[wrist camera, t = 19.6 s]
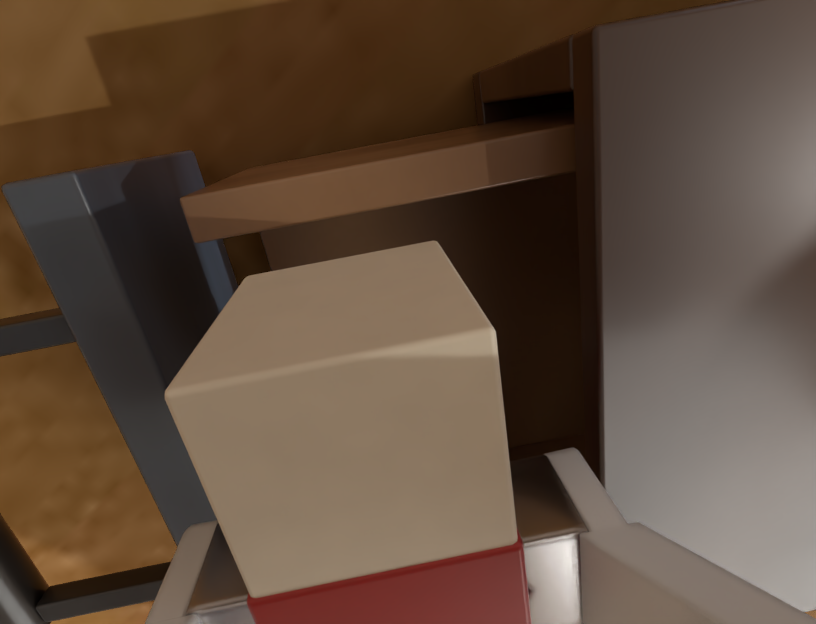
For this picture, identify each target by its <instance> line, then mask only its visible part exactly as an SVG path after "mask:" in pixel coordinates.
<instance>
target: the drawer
mask: <svg viewBox="0 0 816 624" xmlns="http://www.w3.org/2000/svg"><path fill="white" fill-rule="evenodd" d="M2 192H3V194H4V196H5V198H6V200H7V202H8V204H9V206H10V208H11V210H12V212H13V214H14V216H15V218H16V220H17V223H18V225H19V227H20V229H21V231H22V233H23V235H24V237H25V239H26V241H27V243H28V245H29V247H30V249H31V251H32V253H33V255H34V257H35V259H36V261H37V263H38V265H39V267H40V269H41V271H42V273H43V275H44V277H45V279H46V281H47V283H48V285H49V287H50V289H51V291H52V293H53V296H54V298H55V300H56V302H57V304H58V306H59V308H56V309H51V310H46V311H41V312H35V313H30V314H25V315H20V316H15V317H9V318H4V319H0V357H1V356H6V355H11V354H16V353H21V352H26V351H32V350H37V349H42V348H47V347H52V346H57V345H63V344H68V343H73V342H77V344H78V346H79V348H80V350H81V352H82V354H83V356H84V358H85V360H86V362H87V364H88V367H89V369H90V371H91V373H92V375H93V377H94V379H95V381H96V383H97V385H98V387H99V389H100V391H101V393H102V395H103V397H104V399H105V401H106V403H107V405H108V407H109V409H110V411H111V413H112V415H113V417H114V419H115V421H116V423H117V425H118V427H119V429H120V431H121V433H122V435H123V438H124V440H125V442H126V444H127V446H128V448H129V450H130V452H131V454H132V456H133V458H134V460H135V462H136V464H137V466H138V468H139V470H140V472H141V474H142V476H143V478H144V480H145V482H146V484H147V486H148V488H149V490H150V492H151V494H152V496H153V498H154V500H155V502H156V504H157V506H158V509H159V511H160V513H161V515H162V517H163V519H164V521H165V523H166V525H167V527H168V529H169V531H170V533H171V535H172V537H173V539H174V541H175V543H176V545H177V547H178V545H179V542H180V540H181V538H182V535H183V533H184V532H185V531H186V530H187V529H188V528H189V527H190V526H191V525H193V524H199V523H205V522H210V521H216V520H217V518H216V516H215V514H214V511H213V509H212V507H211V504H210V502H209V500H208V497H207V495H206V493H205V491H204V488H203V486H202V484H201V481H200V479H199V477H198V474H197V472H196V470H195V468H194V465H193V463H192V461H191V458H190V456H189V454H188V451H187V449H186V447H185V445H184V442H183V440H182V438H181V435H180V433H179V431H178V428H177V426H176V424H175V422H174V419H173V417H172V415H171V412H170V410H169V408H168V405H167V403H166V401H165V390H166V389H167V387H168V386H169V385H170V383H171V382H172V380H173V379H174V377H175V376H176V375H177V373H178V372H179V370H180V369H181V368H182V366H183V365H184V363H185V362H186V361H187V359H188V358H189V356H190V355H191V353H192V352H193V351H194V349H195V348H196V346H197V345H198V344H199V342H200V341H201V339H202V338H203V336H204V335H205V334H206V332H207V331H208V329H209V328H210V327H211V325H212V324H213V322H214V321H215V319H216V318H217V317H218V315H219V314H220V312H221V311H222V310H223V308H224V307H225V305H226V304H227V302H228V301H229V300H230V298H231V297H232V295H233V294H234V293H235V291H236V290H237V288H238V285H237V282H236V279H235V276H234V272H233V269H232V266H231V263H230V260H229V257H228V254H227V251H226V248H225V245H224V242H223V239H224V238H229V237H235V236H240V235H245V234H250V233H256V232H260V235H261V239H262V242H263V246H264V249H265V252H266V256H267V259H268V262H269V266H270V269H271V271H276V270H281V269H286V268H292V267H297V266H302V265H307V264H313V263H318V262H323V261H328V260H334V259H339V258H344V257H349V256H355V255H360V254H365V253H370V252H376V251H381V250H386V249H391V248H397V247H402V246H407V245H412V244H418V243H423V242H428V241H433V240H434V241H437V242H438V243H439V245H440V246H441V248H442V249H443V251H444V252H445V254H446V255H447V257H448V258H449V260H450V262H451V263H452V265H453V266H454V268H455V269H456V271H457V272H458V274H459V275H460V277H461V278H462V280H463V282H464V283H465V285H466V286H467V288H468V289H469V291H470V292H471V294H472V295H473V297H474V298H475V300H476V301H477V303H478V305H479V306H480V308H481V309H482V311H483V312H484V314H485V315H486V317H487V318H488V320H489V321H490V323H491V325H492V326H493V328H494V329H495V331H496V337H497V347H498V356H499V366H500V375H501V384H502V394H503V403H504V413H505V422H506V432H507V441H508V451H509V460H510V461H514V460H519V459H524V458H528V457H533V456H538V455H544V454H545V453H549V452H554V451H558V450H563V449H567V448H572V447H574V448H575V449H577V450H579V452H580V453H581V455H582V456H583V458H584V459H585V461H586V456H585V425H584V395H583V364H582V333H581V303H580V272H579V241H578V211H577V180H576V149H575V119H574V107H573V108H567V109H562V110H557V111H551V112H546V113H541V114H535V115H530V116H525V117H519V118H514V119H509V120H503V121H498V122H493V123H487V124H482V125H477V126H471V127H466V128H461V129H455V130H450V131H445V132H439V133H434V134H428V135H423V136H418V137H412V138H407V139H402V140H396V141H391V142H386V143H380V144H375V145H370V146H364V147H359V148H354V149H348V150H343V151H338V152H332V153H327V154H322V155H316V156H311V157H306V158H300V159H295V160H289V161H284V162H279V163H273V164H268V165H263V166H257V167H252V168H248V169H246V170H244V171H241V172H239V173H237V174H234V175H232V176H230V177H227V178H225V179H223V180H220V181H218V182H216V183H213V184H211V185H209V186H206V187H205V184H204V181H203V178H202V175H201V172H200V169H199V166H198V163H197V160H196V157H195V154H194V152H193V151H191V150H188V151H182V152H176V153H171V154H165V155H159V156H153V157H148V158H142V159H136V160H131V161H125V162H119V163H114V164H108V165H102V166H96V167H91V168H85V169H79V170H74V171H68V172H63V173H57V174H52V175H46V176H41V177H36V178H30V179H25V180H20V181H14V182H9V183H6V184H4V185H3V186H2ZM170 563H171V562H166V563H162V564H157V565H152V566H147V567H142V568H137V569H132V570H127V571H122V572H117V573H113V574H108V575H103V576H98V577H93V578H88V579H83V580H78V581H73V582H68V583H63V584H59V585H54V586H50V587H49V586H48V584H47V583H46V581H45V580H44V578H43V577H42V575H41V574H40V572H39V571H38V569H37V568H36V566H35V565H34V563H33V562H32V560H31V559H30V557H29V556H28V554H27V553H26V551H25V550H24V548H23V547H22V545H21V544H20V542H19V541H18V539H17V538H16V536H15V535H14V533H13V532H12V530H11V529H10V527H9V526H8V524H7V523H6V521H5V520H4V518H3V517H2V515H1V514H0V624H50V623H51V622H52V621H56V620H61V619H66V618H70V617H75V616H80V615H85V614H90V613H95V612H100V611H104V610H109V609H114V608H119V607H124V606H129V605H134V604H139V603H143V602H148V601H153V600H155V598H156V596H157V594H158V591H159V589H160V587H161V584H162V582H163V580H164V577H165V575H166V573H167V570H168V568H169V566H170Z"/></svg>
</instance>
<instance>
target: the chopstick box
mask: <svg viewBox="0 0 816 624" xmlns="http://www.w3.org/2000/svg"><path fill="white" fill-rule="evenodd" d="M165 401H166V403H167V405H168V408H169V410H170V412H171V415H172V417H173V419H174V422H175V424H176V426H177V428H178V431H179V433H180V435H181V438H182V440H183V442H184V445H185V447H186V449H187V451H188V454H189V456H190V458H191V461H192V463H193V465H194V468H195V470H196V472H197V474H198V477H199V479H200V481H201V484H202V486H203V488H204V491H205V493H206V495H207V497H208V500H209V502H210V504H211V507H212V509H213V511H214V514H215V516H216V518H217V520H218V523H219V525H220V527H221V530H222V532H223V534H224V537H225V539H226V541H227V544H228V546H229V548H230V550H231V553H232V555H233V557H234V560H235V562H236V564H237V567H238V569H239V571H240V573H241V576H242V578H243V580H244V583H245V585H246V587H247V590H248V592H249V593H248V597H247V605H248V608H249V610H250V613H251V615H252V617H253V619H254V622H255V624H531V614H530V604H529V594H528V584H527V574H526V564H525V554H524V544H523V542H522V539H521V536H520V534H519V531H518V529H517V526H516V517H515V507H514V498H513V488H512V479H511V469H510V460H509V451H508V441H507V432H506V422H505V413H504V403H503V394H502V384H501V375H500V366H499V356H498V347H497V337H496V331H495V329H494V328H493V326H492V325H491V323H490V321H489V320H488V318H487V317H486V315H485V314H484V312H483V311H482V309H481V308H480V306H479V305H478V303H477V301H476V300H475V298H474V297H473V295H472V294H471V292H470V291H469V289H468V288H467V286H466V285H465V283H464V282H463V280H462V278H461V277H460V275H459V274H458V272H457V271H456V269H455V268H454V266H453V265H452V263H451V262H450V260H449V258H448V257H447V255H446V254H445V252H444V251H443V249H442V248H441V246H440V245H439V243H438V242H437V241H434V240H433V241H428V242H423V243H418V244H412V245H407V246H402V247H397V248H391V249H386V250H381V251H376V252H370V253H365V254H360V255H355V256H349V257H344V258H339V259H334V260H328V261H323V262H318V263H313V264H307V265H302V266H297V267H292V268H286V269H281V270H276V271H271V272H265V273H260V274H255V275H250V276H247V277H245V278H244V280H243V281H242V283H241V284H240V285H239V287H238V288H237V290H236V291H235V293H234V294H233V295H232V297H231V298H230V300H229V301H228V302H227V304H226V305H225V307H224V308H223V310H222V311H221V312H220V314H219V315H218V317H217V318H216V319H215V321H214V322H213V324H212V325H211V327H210V328H209V329H208V331H207V332H206V334H205V335H204V336H203V338H202V339H201V341H200V342H199V344H198V345H197V346H196V348H195V349H194V351H193V352H192V353H191V355H190V356H189V358H188V359H187V361H186V362H185V363H184V365H183V366H182V368H181V369H180V370H179V372H178V373H177V375H176V376H175V377H174V379H173V380H172V382H171V383H170V385H169V386H168V387H167V389H166V390H165Z"/></svg>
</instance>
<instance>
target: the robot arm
mask: <svg viewBox="0 0 816 624" xmlns="http://www.w3.org/2000/svg"><path fill="white" fill-rule="evenodd" d="M510 469H511V479H512V488H513V498H514V507H515V517H516V526H517V529H518V531H519V534H520V536H521V539H522V542H523V544H524V554H525V564H526V574H527V584H528V594H529V604H530V614H531V624H816V619H815V618H813V617H811V616H810V615H808V614H806V613H804V612H802V611H800V610H799V609H797V608H795V607H793V606H791V605H789V604H788V603H786V602H784V601H782V600H780V599H778V598H777V597H775V596H773V595H771V594H769V593H767V592H766V591H764V590H762V589H760V588H758V587H756V586H755V585H753V584H751V583H749V582H747V581H745V580H744V579H742V578H740V577H738V576H736V575H734V574H733V573H731V572H729V571H727V570H725V569H723V568H722V567H720V566H718V565H716V564H714V563H712V562H711V561H709V560H707V559H705V558H703V557H701V556H700V555H698V554H696V553H694V552H692V551H690V550H689V549H687V548H685V547H683V546H681V545H679V544H678V543H676V542H674V541H672V540H670V539H668V538H667V537H665V536H663V535H661V534H659V533H657V532H656V531H654V530H652V529H650V528H648V527H646V526H645V525H643V524H641V523H639V522H635V523H629V524H628V523H627V522H626V520H625V519H624V517H623V516H622V514H621V513H620V511H619V510H618V508H617V507H616V505H615V504H614V502H613V501H612V499H611V498H610V496H609V495H608V493H607V492H606V490H605V489H604V487H603V486H602V484H601V483H600V482H599V480H598V479H597V477H596V476H595V474H594V473H593V471H592V470H591V468H590V467H589V465H588V464H587V462H586V461H585V459H584V458H583V456H582V455H581V453H580V452H579V450H577V449H575V448H574V447H572V448H567V449H563V450H558V451H554V452H549V453H545V454H544V455H538V456H533V457H528V458H524V459H519V460H514V461H510ZM248 593H249V592H248V590H247V587H246V585H245V583H244V580H243V578H242V576H241V573H240V571H239V569H238V567H237V564H236V562H235V560H234V557H233V555H232V553H231V550H230V548H229V546H228V544H227V541H226V539H225V537H224V534H223V532H222V530H221V527H220V525H219V523H218V520H216V521H210V522H205V523H199V524H193V525H191V526H190V527H189V528H188V529H187V530H186V531H185V532H184V533H183V535H182V538H181V540H180V542H179V545H178V547H177V549H176V552H175V554H174V556H173V559H172V561H171V563H170V566H169V568H168V570H167V573H166V575H165V577H164V580H163V582H162V584H161V587H160V589H159V591H158V594H157V596H156V598H155V601H154V603H153V605H152V608H151V610H150V612H149V615H148V617H147V619H146V622H145V624H255V622H254V619H253V617H252V615H251V613H250V610H249V608H248V605H247V597H248Z"/></svg>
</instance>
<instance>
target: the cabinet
mask: <svg viewBox="0 0 816 624" xmlns="http://www.w3.org/2000/svg"><path fill="white" fill-rule="evenodd" d="M473 85H474V94H475V103H476V113H477V122H478V125H482V124H487V123H493V122H498V121H503V120H509V119H514V118H519V117H525V116H530V115H535V114H541V113H546V112H551V111H557V110H562V109H567V108H573V107H574V119H575V149H576V180H577V211H578V241H579V272H580V303H581V333H582V364H583V395H584V425H585V456H586V462H587V464H588V465H589V467H590V468H591V470H592V471H593V473H594V474H595V476H596V477H597V479H598V480H599V482H600V483H601V484H602V486H603V487H604V489H605V490H606V492H607V493H608V495H609V496H610V498H611V499H612V501H613V502H614V504H615V505H616V507H617V508H618V510H619V511H620V513H621V514H622V516H623V517H624V519H625V520H626V522H627V523H628V524H629V523H635V522H639V523H641V524H643V525H645V526H646V527H648V528H650V529H652V530H654V531H656V532H657V533H659V534H661V535H663V536H665V537H667V538H668V539H670V540H672V541H674V542H676V543H678V544H679V545H681V546H683V547H685V548H687V549H689V550H690V551H692V552H694V553H696V554H698V555H700V556H701V557H703V558H705V559H707V560H709V561H711V562H712V563H714V564H716V565H718V566H720V567H722V568H723V569H725V570H727V571H729V572H731V573H733V574H734V575H736V576H738V577H740V578H742V579H744V580H745V581H747V582H749V583H751V584H753V585H755V586H756V587H758V588H760V589H762V590H764V591H766V592H767V593H769V594H771V595H773V596H775V597H777V598H778V599H780V600H782V601H784V602H786V603H788V604H789V605H791V606H793V607H795V608H797V609H799V610H800V611H802V612H808V611H813V610H816V0H729V1H724V2H718V3H713V4H707V5H702V6H697V7H691V8H686V9H680V10H675V11H669V12H664V13H658V14H653V15H648V16H642V17H637V18H631V19H626V20H620V21H615V22H609V23H604V24H598V25H595V26H593V27H590V28H588V29H585V30H583V31H580V32H578V33H576V34H572V35H570V36H567V37H565V38H563V39H560V40H558V41H555V42H553V43H550V44H548V45H545V46H543V47H540V48H538V49H535V50H533V51H530V52H528V53H525V54H523V55H520V56H518V57H516V58H513V59H511V60H508V61H506V62H503V63H501V64H498V65H496V66H493V67H491V68H488V69H486V70H483V71H481V72H478V73H476V74H474V75H473Z"/></svg>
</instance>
